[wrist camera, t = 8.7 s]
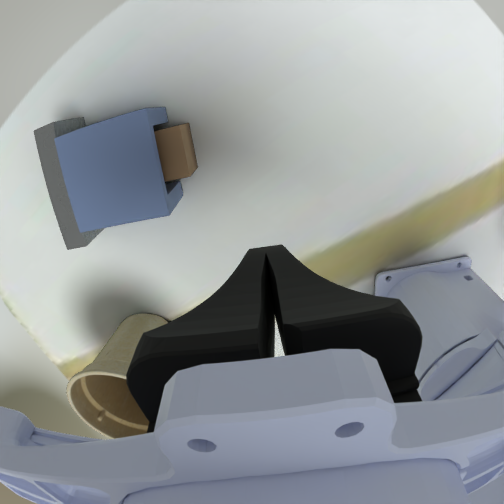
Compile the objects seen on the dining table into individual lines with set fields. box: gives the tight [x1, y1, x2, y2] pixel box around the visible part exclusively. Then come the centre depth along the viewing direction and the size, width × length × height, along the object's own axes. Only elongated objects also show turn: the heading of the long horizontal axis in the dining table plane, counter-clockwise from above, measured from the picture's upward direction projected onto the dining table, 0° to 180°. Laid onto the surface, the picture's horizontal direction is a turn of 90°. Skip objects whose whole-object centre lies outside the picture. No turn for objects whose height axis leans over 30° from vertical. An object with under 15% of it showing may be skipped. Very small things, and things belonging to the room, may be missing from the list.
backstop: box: [34, 117, 104, 250], centre depth 18 cm, size 2×8×4 cm, turn 9°
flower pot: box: [66, 313, 168, 439], centre depth 22 cm, size 9×9×9 cm
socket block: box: [54, 107, 183, 233], centre depth 18 cm, size 6×6×4 cm
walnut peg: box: [154, 123, 198, 182], centre depth 18 cm, size 6×3×3 cm, turn 99°
